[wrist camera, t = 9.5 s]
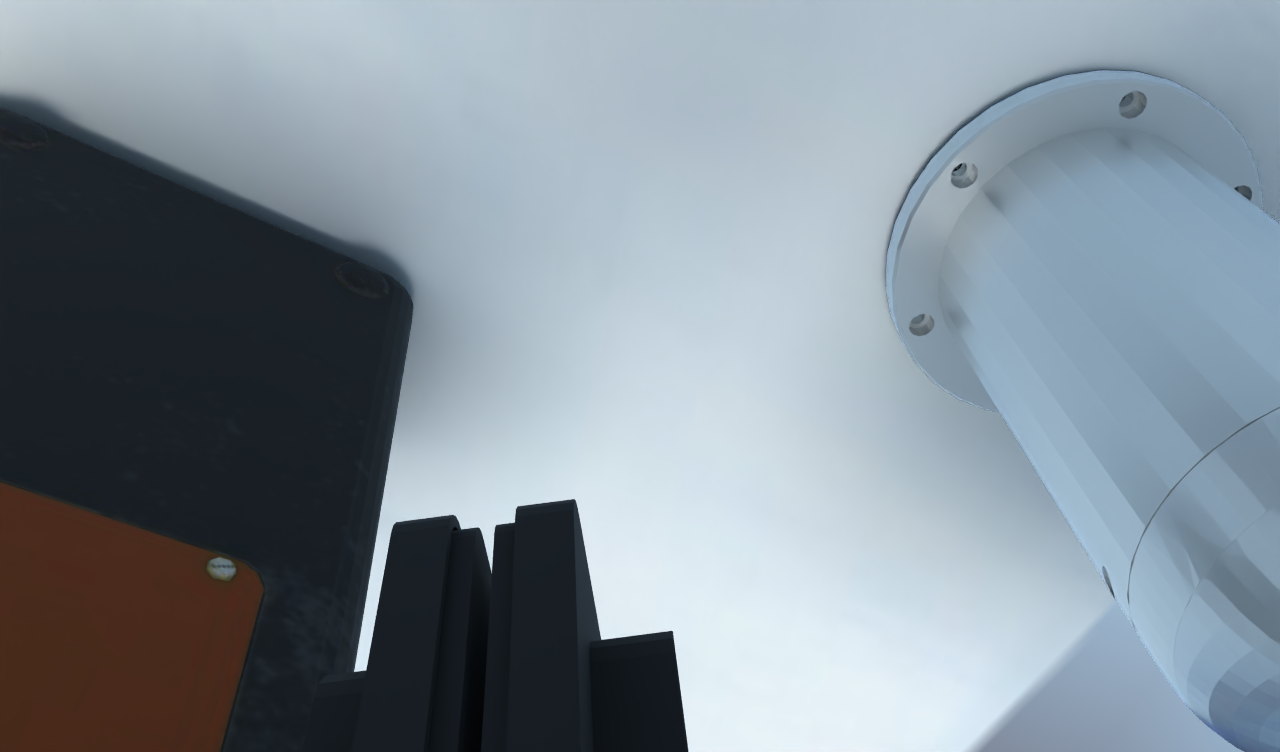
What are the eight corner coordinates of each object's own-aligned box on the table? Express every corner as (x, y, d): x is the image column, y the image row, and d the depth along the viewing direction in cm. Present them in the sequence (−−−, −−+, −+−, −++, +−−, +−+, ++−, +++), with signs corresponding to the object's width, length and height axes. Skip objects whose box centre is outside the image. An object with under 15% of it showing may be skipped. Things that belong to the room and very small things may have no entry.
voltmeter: (-114, 290, 37) (-950, 1143, 16) (-50, 55, 33) (-1030, 760, 12) (348, 462, 42) (176, 1278, 21) (448, 275, 38) (359, 1038, 17)
